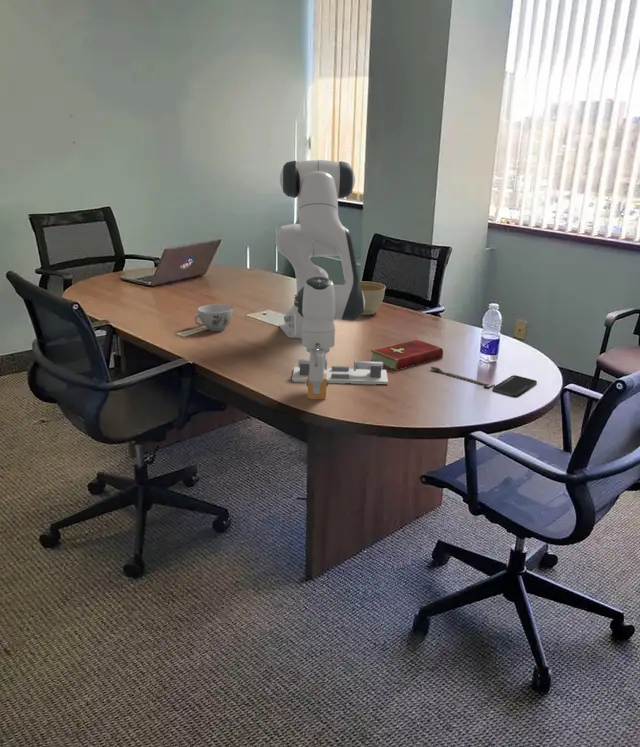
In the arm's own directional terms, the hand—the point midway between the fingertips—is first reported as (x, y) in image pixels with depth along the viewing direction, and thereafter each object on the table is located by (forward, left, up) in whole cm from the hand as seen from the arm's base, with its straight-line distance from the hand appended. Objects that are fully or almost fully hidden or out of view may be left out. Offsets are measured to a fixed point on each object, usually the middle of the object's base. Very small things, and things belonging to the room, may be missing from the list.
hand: (317, 386), depth 184 cm
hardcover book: (-16, +41, -4) cm, 44 cm away
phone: (+18, +56, -4) cm, 59 cm away
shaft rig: (-10, +13, -3) cm, 17 cm away
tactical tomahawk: (+5, +47, -4) cm, 47 cm away
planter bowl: (-70, +58, -3) cm, 91 cm away
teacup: (-72, -5, -3) cm, 72 cm away
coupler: (0, 0, -3) cm, 3 cm away
